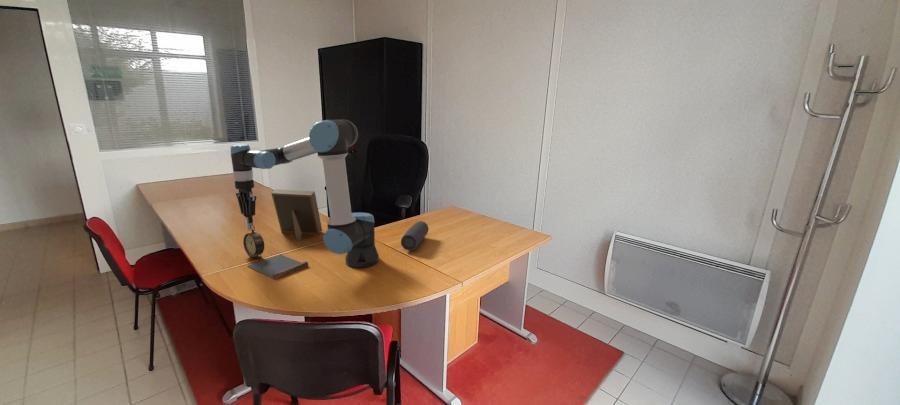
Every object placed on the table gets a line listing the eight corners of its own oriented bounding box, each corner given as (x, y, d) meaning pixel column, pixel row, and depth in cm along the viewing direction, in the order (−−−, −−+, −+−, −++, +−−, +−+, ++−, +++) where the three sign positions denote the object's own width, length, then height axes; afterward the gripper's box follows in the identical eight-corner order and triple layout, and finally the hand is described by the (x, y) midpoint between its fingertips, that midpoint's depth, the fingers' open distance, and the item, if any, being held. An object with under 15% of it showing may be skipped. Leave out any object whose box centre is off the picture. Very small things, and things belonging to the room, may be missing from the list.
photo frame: (285, 229, 211) (281, 186, 204) (322, 232, 209) (319, 188, 202) (270, 239, 196) (265, 193, 190) (310, 241, 194) (306, 195, 188)
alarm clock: (244, 255, 174) (240, 223, 170) (255, 252, 179) (251, 220, 175) (256, 261, 169) (252, 228, 164) (268, 258, 173) (264, 225, 169)
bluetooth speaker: (417, 253, 183) (417, 234, 180) (399, 251, 184) (399, 233, 182) (429, 238, 204) (429, 220, 202) (413, 236, 206) (413, 219, 203)
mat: (307, 265, 166) (307, 264, 166) (274, 279, 153) (274, 278, 153) (280, 255, 177) (280, 254, 176) (247, 266, 164) (247, 265, 163)
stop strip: (308, 266, 166) (307, 261, 165) (274, 279, 153) (274, 274, 152) (306, 265, 167) (305, 261, 166) (272, 278, 154) (272, 273, 153)
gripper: (260, 180, 165) (265, 230, 171) (244, 176, 172) (250, 224, 178) (243, 182, 159) (249, 234, 165) (227, 178, 166) (234, 228, 172)
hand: (250, 229), depth 172 cm, fingers closed
